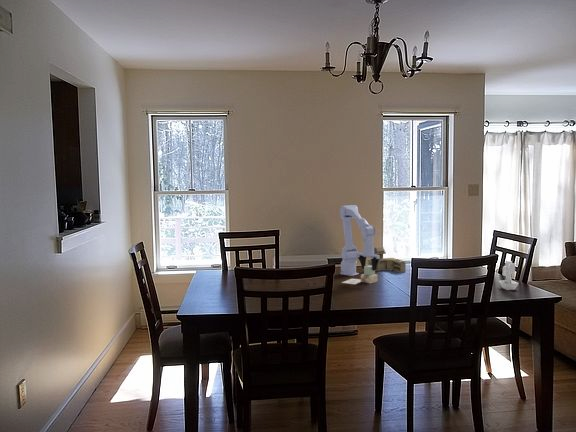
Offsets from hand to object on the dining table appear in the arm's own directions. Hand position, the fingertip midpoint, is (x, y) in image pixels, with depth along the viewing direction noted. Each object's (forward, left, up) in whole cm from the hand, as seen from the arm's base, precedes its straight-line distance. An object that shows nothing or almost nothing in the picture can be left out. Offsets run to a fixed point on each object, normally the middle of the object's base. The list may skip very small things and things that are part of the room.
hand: (368, 269), depth 265 cm
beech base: (0, 0, -7) cm, 7 cm away
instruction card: (-7, -6, -7) cm, 12 cm away
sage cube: (0, 0, -3) cm, 3 cm away
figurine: (+66, +34, -7) cm, 75 cm away
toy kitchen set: (-9, +30, -8) cm, 32 cm away
